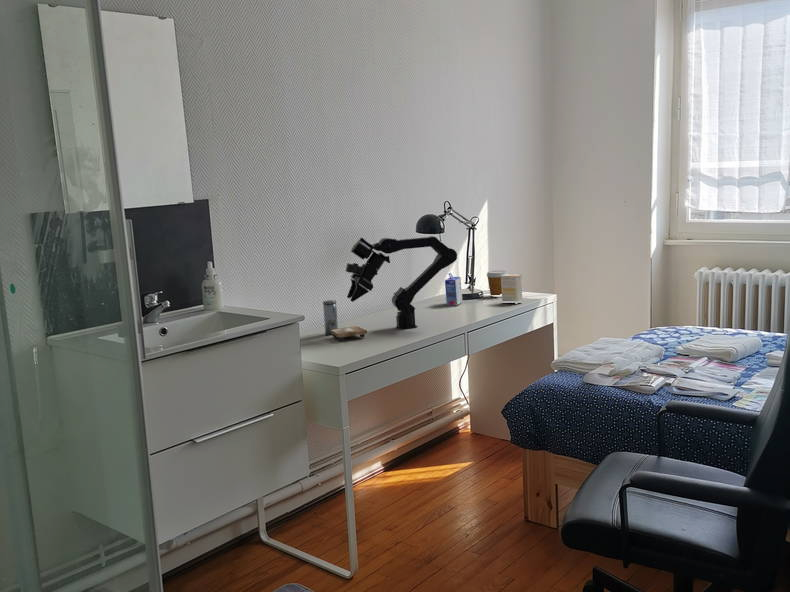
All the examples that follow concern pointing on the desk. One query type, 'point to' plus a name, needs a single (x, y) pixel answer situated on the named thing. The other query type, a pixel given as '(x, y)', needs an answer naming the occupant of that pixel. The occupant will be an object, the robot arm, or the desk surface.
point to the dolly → (348, 332)
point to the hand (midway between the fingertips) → (349, 299)
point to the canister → (330, 316)
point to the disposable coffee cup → (495, 281)
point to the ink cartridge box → (453, 290)
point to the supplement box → (511, 287)
